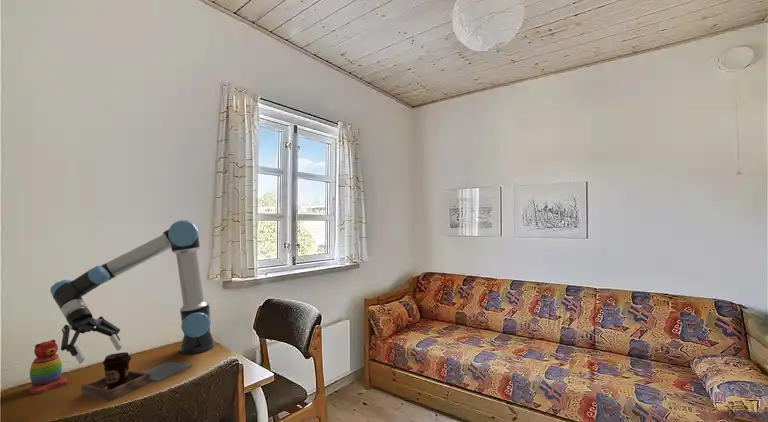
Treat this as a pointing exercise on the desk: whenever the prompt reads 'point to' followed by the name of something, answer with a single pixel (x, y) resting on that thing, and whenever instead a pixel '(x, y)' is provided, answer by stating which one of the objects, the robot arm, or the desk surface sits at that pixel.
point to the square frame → (98, 391)
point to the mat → (165, 370)
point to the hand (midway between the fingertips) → (101, 354)
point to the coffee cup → (116, 369)
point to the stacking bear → (46, 368)
